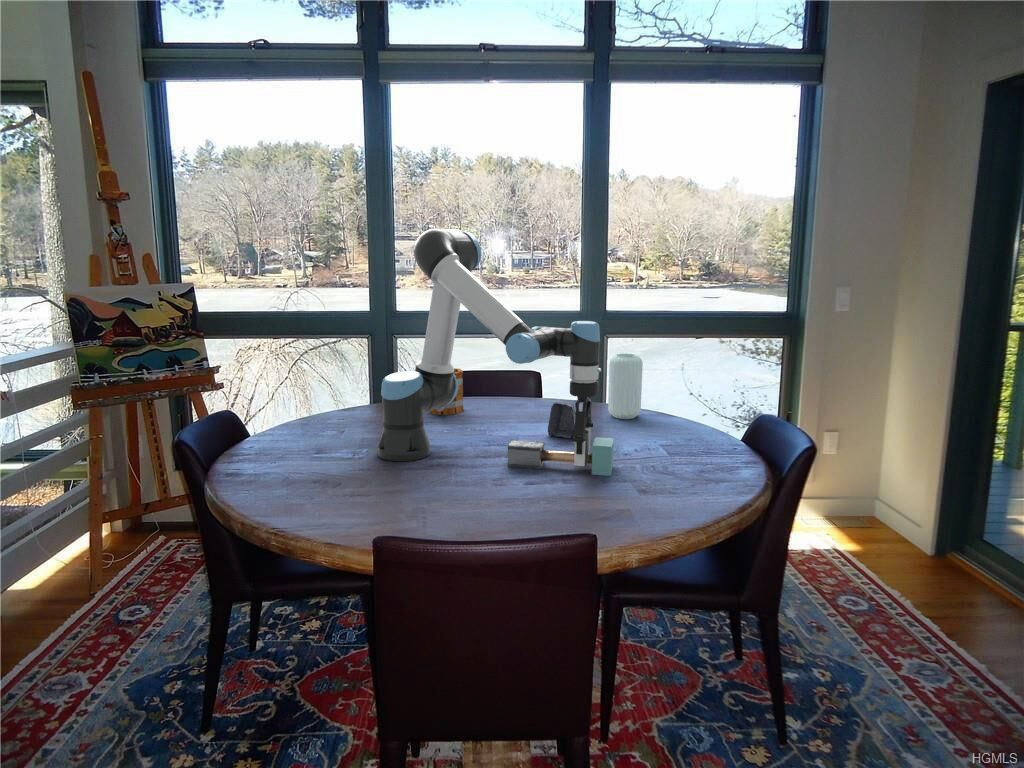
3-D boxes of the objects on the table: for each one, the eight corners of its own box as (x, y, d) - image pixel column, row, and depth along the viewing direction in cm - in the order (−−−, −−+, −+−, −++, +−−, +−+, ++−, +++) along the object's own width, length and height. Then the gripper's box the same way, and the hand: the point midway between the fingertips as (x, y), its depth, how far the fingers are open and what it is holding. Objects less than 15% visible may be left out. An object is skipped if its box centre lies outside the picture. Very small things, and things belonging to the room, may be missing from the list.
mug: (432, 406, 249) (431, 367, 246) (467, 406, 247) (466, 368, 244) (419, 418, 230) (418, 377, 227) (457, 419, 228) (456, 377, 225)
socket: (591, 474, 172) (592, 445, 170) (594, 465, 180) (595, 437, 178) (610, 475, 171) (611, 446, 169) (612, 466, 179) (613, 438, 177)
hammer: (532, 462, 178) (532, 430, 176) (534, 458, 181) (534, 427, 179) (605, 467, 173) (606, 434, 172) (606, 463, 176) (607, 431, 175)
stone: (568, 446, 203) (540, 433, 207) (577, 443, 212) (550, 431, 216) (582, 411, 202) (554, 398, 205) (590, 410, 211) (563, 398, 214)
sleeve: (507, 467, 178) (507, 445, 177) (512, 460, 184) (512, 439, 182) (540, 469, 176) (540, 448, 175) (543, 462, 182) (544, 441, 181)
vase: (616, 411, 241) (618, 351, 237) (645, 415, 234) (648, 354, 230) (602, 417, 232) (604, 355, 227) (631, 422, 225) (634, 358, 221)
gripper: (593, 390, 159) (591, 473, 163) (602, 372, 183) (600, 445, 187) (563, 388, 161) (561, 471, 165) (575, 371, 184) (574, 443, 189)
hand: (582, 457), depth 176 cm, fingers open, 13 cm apart
